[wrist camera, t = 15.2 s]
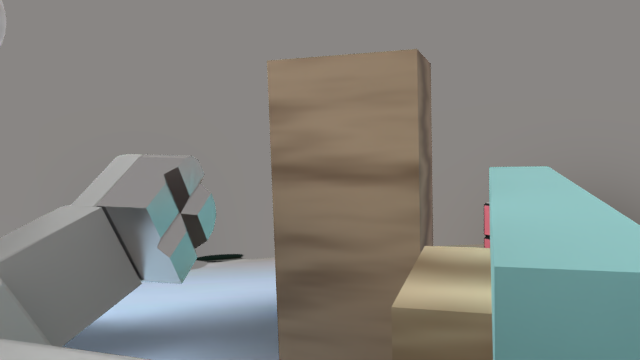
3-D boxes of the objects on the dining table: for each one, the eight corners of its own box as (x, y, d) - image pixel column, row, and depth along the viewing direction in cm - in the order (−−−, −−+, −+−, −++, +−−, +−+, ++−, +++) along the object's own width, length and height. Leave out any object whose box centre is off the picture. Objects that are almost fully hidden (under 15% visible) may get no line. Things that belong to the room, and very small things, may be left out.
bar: (711, 477, 9) (718, 276, 9) (494, 447, 10) (494, 266, 10) (547, 221, 34) (547, 166, 34) (489, 220, 35) (489, 167, 35)
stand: (423, 450, 35) (417, 49, 33) (282, 429, 38) (267, 60, 36) (435, 393, 43) (430, 63, 41) (316, 379, 46) (305, 72, 44)
